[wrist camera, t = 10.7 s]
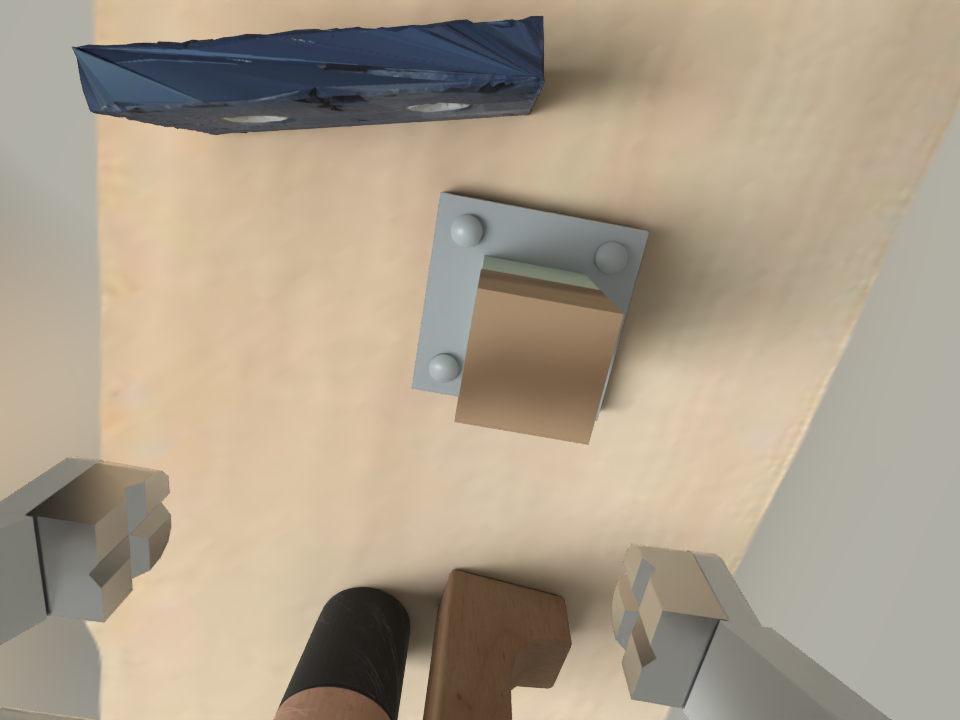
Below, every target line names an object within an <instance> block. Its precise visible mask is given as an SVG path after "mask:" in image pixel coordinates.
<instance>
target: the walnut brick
mask: <svg viewBox="0 0 960 720" xmlns="http://www.w3.org/2000/svg"><path fill="white" fill-rule="evenodd" d="M623 316H624V314H623V313H622V312H621V311H620V310H619V309H618V308H617V307H616V306H615V305H614V304H613V303H612V302H611V300H610V299H609V298H608V297H607V296H606V295H605V294H604V293H603V292H602V291H601V290H597V289H592V288H586V287H581V286H575V285H570V284H564V283H559V282H553V281H548V280H542V279H537V278H531V277H525V276H520V275H514V274H509V273H503V272H498V271H492V270H487V269H481V271H480V277H479V282H478V288H477V294H476V299H475V305H474V311H473V316H472V322H471V328H470V333H469V339H468V345H467V350H466V356H465V362H464V367H463V373H462V379H461V385H460V391H459V397H458V403H457V409H456V415H455V421H454V422H458V423H464V424H470V425H476V426H482V427H488V428H494V429H499V430H505V431H511V432H517V433H523V434H529V435H534V436H540V437H546V438H552V439H558V440H564V441H569V442H575V443H581V444H587V445H589V441H590V437H591V433H592V430H593V426H594V422H595V419H596V415H597V411H598V408H599V404H600V400H601V397H602V393H603V389H604V386H605V382H606V378H607V375H608V371H609V367H610V364H611V360H612V356H613V352H614V349H615V345H616V341H617V338H618V334H619V330H620V327H621V323H622V319H623Z"/></svg>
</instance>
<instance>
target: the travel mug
mask: <svg viewBox="0 0 960 720" xmlns="http://www.w3.org/2000/svg"><path fill="white" fill-rule="evenodd" d="M409 636H410V621H409V617H408V614H407V612H406V611H405V609H404V607H403V606H402V605H401V604H400V603H399V602H398V601H397V600H396V599H395V598H393V597H392V596H390V595H388V594H386V593H384V592H382V591H379V590H376V589H371V588H352V589H348V590H345V591H342V592H340V593H338V594H336V595H335V596H333V597H332V598H331V599H330V600H329V601H328V602H327V603H326V605H325V606H324V608H323V610H322V612H321V614H320V616H319V618H318V620H317V622H316V625H315V627H314V629H313V631H312V634H311V636H310V638H309V640H308V643H307V645H306V647H305V649H304V652H303V654H302V656H301V658H300V661H299V663H298V665H297V667H296V670H295V672H294V674H293V676H292V679H291V681H290V683H289V685H288V688H287V690H286V692H285V694H284V697H283V699H282V701H281V703H280V706H279V708H278V710H277V713H276V715H275V717H274V720H397V719H398V712H399V705H400V699H401V692H402V685H403V678H404V671H405V665H406V658H407V651H408V643H409Z"/></svg>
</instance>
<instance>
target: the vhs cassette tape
mask: <svg viewBox="0 0 960 720" xmlns="http://www.w3.org/2000/svg"><path fill="white" fill-rule="evenodd" d="M72 49H73V50H74V53H75V55H76V57H77V62H78V68H79V74H80V80H81V84H82V88H83V92H84V95H85V98H86V101H87V103H88V106H89V109H90V111H91V112H93V113H96V114H102V115H110V116H114V117H126V118H127V119H129V120H136V121H140V122H143V123H150V124H154V125H161V126H164V127H175V128H177V129H179V128H181V129H188V130H196V131H199V132H203V133H209V134H213V135H219V134H226V133H247V132H249V131H250V132H262V131H278V130H295V129H314V128H328V127H342V126H359V125H376V124H392V123H409V122H426V121H443V120H458V119H473V118H490V117H501V116H518V115H528V114H529V113H530V112H531V111H532V107H533V104H534V102H535V100H536V98H537V96H538V95H539V94H540V91H541V88H542V86H543V85H544V84H545V80H544V30H543V16H530V17H528V18H525V19H522V20H517V21H516V20H513V19H511V20H504V21H494V22H479V23H473V22H471V21H469V20H455V21H449V22H442V23H435V24H428V25H409V26H399V27H390V28H384V27H381V28H377V29H366V28H360V27H354V28H345V29H338V28H334V29H328V30H320V29H305V30H293V31H287V32H281V33H275V34H269V35H262V34H244V35H239V36H234V37H223V38H219V39H216V40H213V39H209V40H190V41H186V42H183V43H177V42H157V43H133V44H126V45H85V46H80V47H72Z"/></svg>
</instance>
